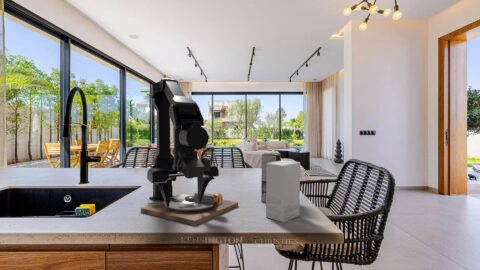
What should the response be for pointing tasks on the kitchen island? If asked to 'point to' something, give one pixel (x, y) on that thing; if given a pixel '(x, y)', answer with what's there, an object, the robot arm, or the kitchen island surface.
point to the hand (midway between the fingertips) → (184, 204)
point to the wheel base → (191, 216)
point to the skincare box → (282, 190)
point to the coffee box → (265, 159)
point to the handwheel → (194, 202)
